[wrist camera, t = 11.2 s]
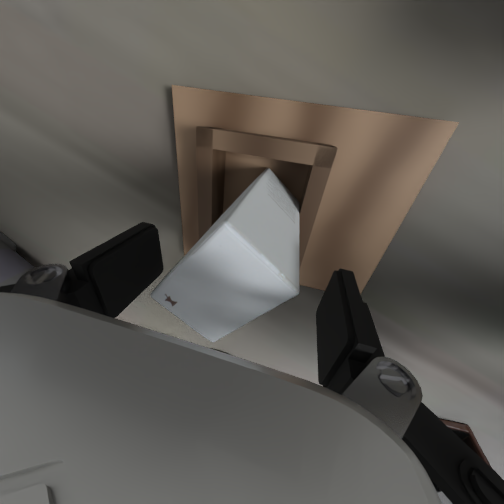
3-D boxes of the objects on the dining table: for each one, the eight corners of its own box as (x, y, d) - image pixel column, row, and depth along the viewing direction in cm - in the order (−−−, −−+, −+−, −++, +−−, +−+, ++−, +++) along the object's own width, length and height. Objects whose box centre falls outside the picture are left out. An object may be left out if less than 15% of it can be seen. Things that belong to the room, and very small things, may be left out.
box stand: (447, 123, 14) (496, 120, 10) (355, 291, 23) (365, 320, 19) (179, 87, 16) (145, 76, 13) (189, 252, 25) (170, 273, 21)
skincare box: (255, 241, 21) (210, 346, 11) (224, 211, 20) (143, 296, 10) (303, 201, 18) (303, 297, 8) (269, 164, 17) (219, 216, 7)
